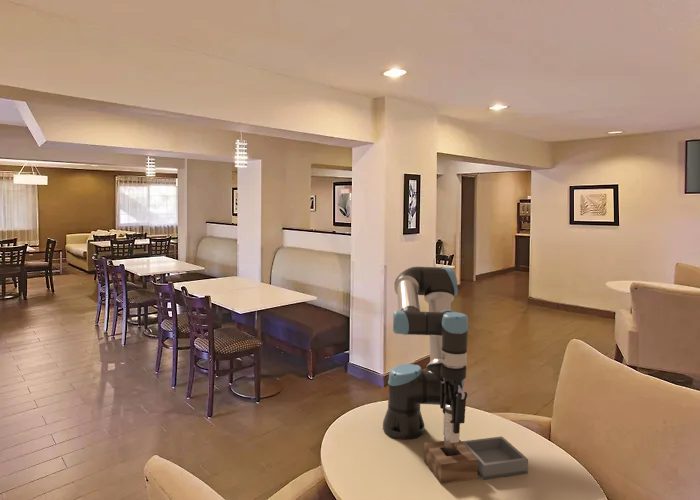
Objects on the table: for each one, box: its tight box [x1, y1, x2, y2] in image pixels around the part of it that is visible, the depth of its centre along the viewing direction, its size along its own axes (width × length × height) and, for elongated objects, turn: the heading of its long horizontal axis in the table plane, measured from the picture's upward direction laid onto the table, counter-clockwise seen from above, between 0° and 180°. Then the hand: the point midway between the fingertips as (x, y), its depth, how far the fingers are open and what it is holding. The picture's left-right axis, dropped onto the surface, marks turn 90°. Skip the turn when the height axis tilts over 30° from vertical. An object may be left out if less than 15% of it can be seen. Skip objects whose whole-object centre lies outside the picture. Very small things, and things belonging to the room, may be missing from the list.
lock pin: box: [443, 403, 457, 456], centre depth 136 cm, size 4×4×18 cm
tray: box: [460, 435, 529, 480], centre depth 140 cm, size 14×15×4 cm
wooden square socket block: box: [423, 439, 479, 485], centre depth 136 cm, size 12×12×6 cm
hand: (450, 437), depth 136 cm, fingers closed on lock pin, 4 cm apart
